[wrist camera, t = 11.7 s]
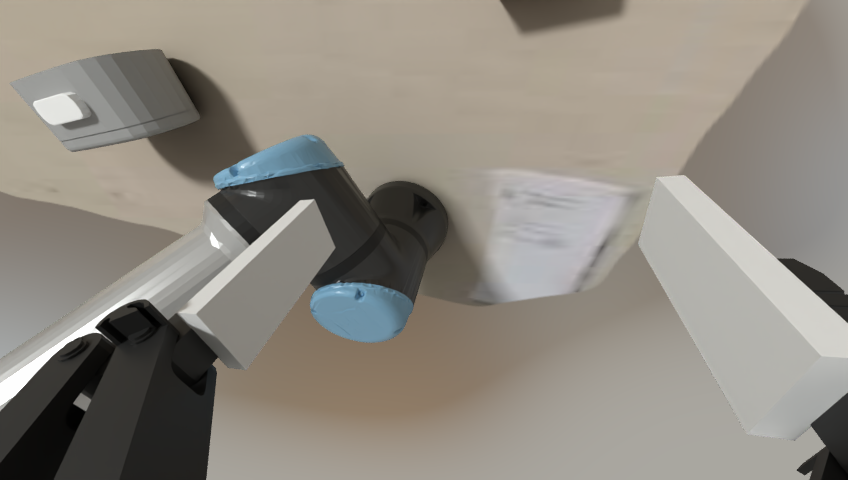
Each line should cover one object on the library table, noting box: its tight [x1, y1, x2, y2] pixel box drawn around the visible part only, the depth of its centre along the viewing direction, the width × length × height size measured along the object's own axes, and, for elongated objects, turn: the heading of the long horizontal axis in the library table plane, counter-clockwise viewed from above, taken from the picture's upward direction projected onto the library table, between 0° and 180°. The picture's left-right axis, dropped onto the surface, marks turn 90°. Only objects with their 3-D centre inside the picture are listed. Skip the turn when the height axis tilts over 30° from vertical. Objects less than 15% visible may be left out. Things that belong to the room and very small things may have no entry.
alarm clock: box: [9, 49, 200, 152], centre depth 44 cm, size 21×10×13 cm, turn 102°
